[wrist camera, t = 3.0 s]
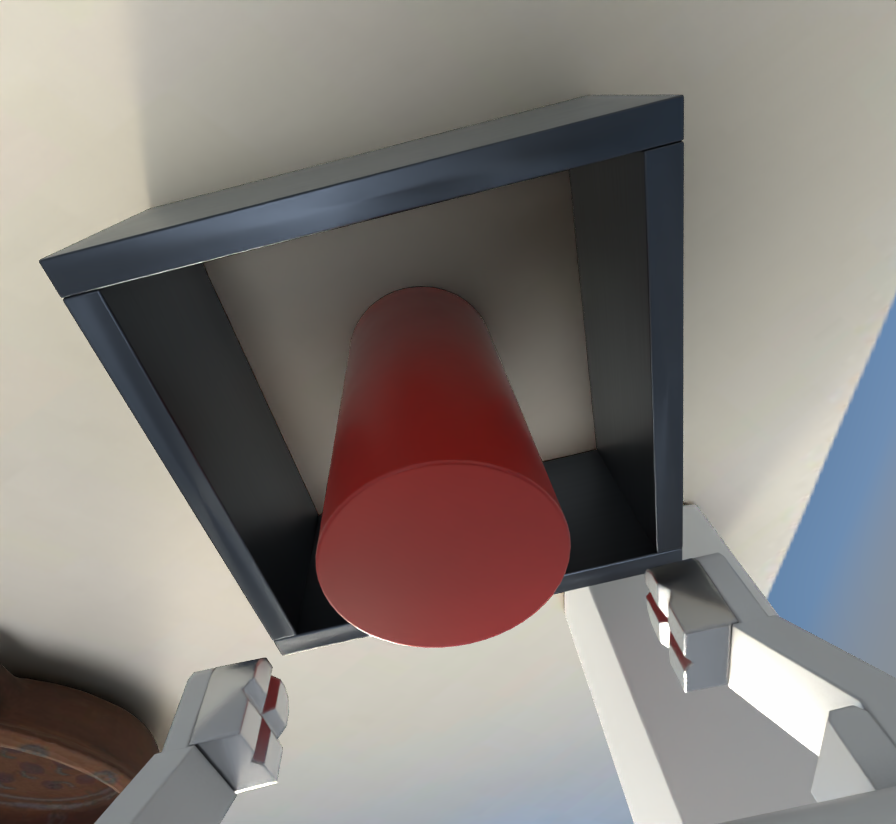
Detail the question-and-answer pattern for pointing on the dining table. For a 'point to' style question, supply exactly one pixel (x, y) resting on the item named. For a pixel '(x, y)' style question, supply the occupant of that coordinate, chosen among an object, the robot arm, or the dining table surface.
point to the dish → (64, 752)
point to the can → (435, 483)
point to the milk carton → (680, 711)
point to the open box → (369, 197)
